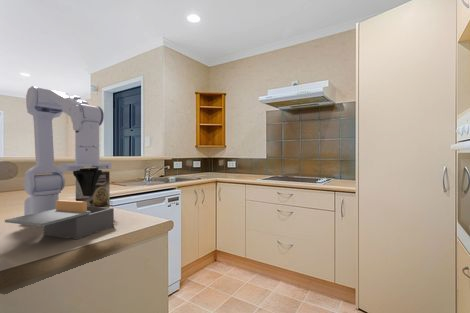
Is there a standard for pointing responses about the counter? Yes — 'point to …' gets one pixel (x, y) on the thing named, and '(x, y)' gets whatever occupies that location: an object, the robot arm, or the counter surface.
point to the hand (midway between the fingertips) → (88, 195)
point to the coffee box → (97, 192)
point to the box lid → (53, 214)
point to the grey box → (82, 224)
